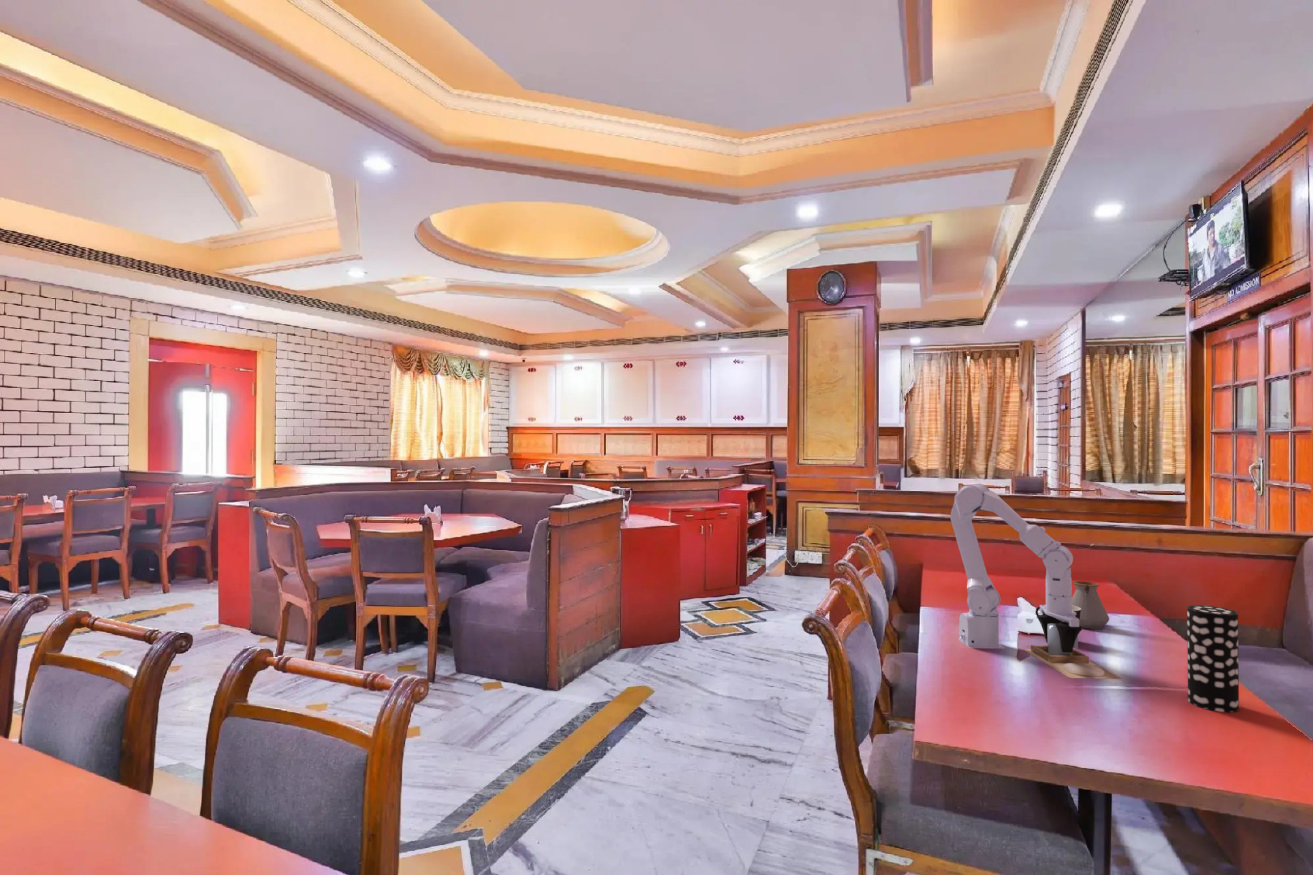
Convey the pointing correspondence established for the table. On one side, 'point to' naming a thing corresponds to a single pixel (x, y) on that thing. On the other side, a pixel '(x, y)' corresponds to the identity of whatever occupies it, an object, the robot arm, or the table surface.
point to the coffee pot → (1089, 605)
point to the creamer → (1056, 641)
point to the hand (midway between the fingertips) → (1058, 647)
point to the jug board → (1071, 664)
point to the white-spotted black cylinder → (1213, 658)
